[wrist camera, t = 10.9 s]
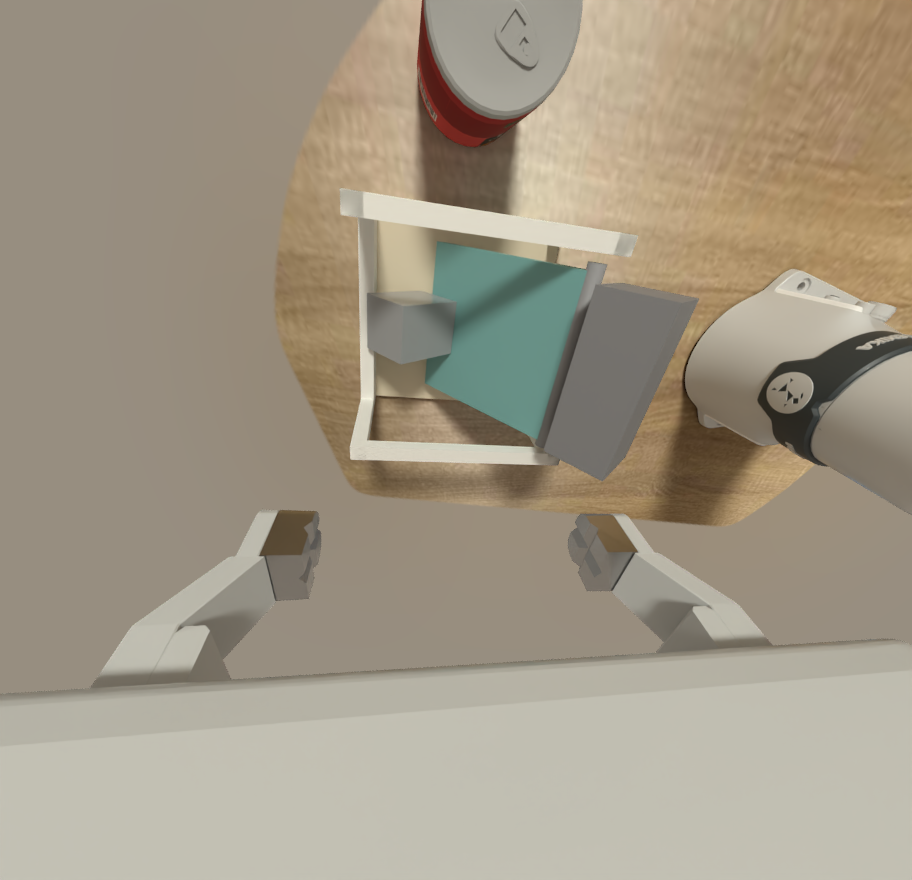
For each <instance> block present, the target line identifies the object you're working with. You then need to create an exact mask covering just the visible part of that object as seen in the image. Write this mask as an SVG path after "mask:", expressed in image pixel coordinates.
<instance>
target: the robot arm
mask: <svg viewBox="0 0 912 880" xmlns="http://www.w3.org/2000/svg"><path fill="white" fill-rule="evenodd" d="M896 309H897V308H895V307H893V306H890V305H886V304H883V303H878V302H873V301H868V303H867V302H864V301H862V300H860V299H858V298H856V297H854V296H852V295H850V294H848V293H846V292H844V291H842V290H840V289H838V288H836V287H834V286H832V285H830V284H828V283H826V282H824V281H822V280H820V279H818V278H816V277H814V276H812V275H810V274H808V273H806V272H803V271H800V270H797V269H790V270H788V271H786V272H784V273H783V274H782V275H780V276H779V277H778V278H777V279H775V280H774V281H773V282H772V283H771V284H770V285H769V286H768V287H766V288H765V289H764V290H763V291H761V292H760V293H758V294H756V295H754V296H752V297H750V298H748V299H746V300H744V301H742V302H740V303H738V304H737V305H735V306H734V307H732V308H731V309H729V310H728V311H727V312H725V313H724V314H723V315H722V316H721V317H719V318H718V319H717V320H716V321H715V322H714V323H713V324H712V325H711V326H710V327H709V328H708V330H707V331H706V332H705V333H704V335H703V336H702V337H701V339H700V340H699V342H698V343H697V345H696V347H695V348H694V350H693V352H692V354H691V356H690V359H689V362H688V365H687V368H686V374H685V387H686V391H687V394H688V396H689V398H690V399H691V401H692V402H693V403H694V404H695V405H696V407H697V409H698V419H699V423H700V424H701V425H703V426H705V427H707V428H716V427H724V426H725V427H727V428H728V429H730V430H732V431H734V432H735V433H737V434H739V435H741V436H743V437H745V438H746V439H748V440H750V441H752V442H754V443H755V444H758V445H761V446H766V445H776V444H781V445H783V446H785V447H786V448H788V449H789V450H790V451H791V452H793V453H794V454H796V455H798V456H799V457H802V458H803V459H807V460H809V461H811V462H813V463H815V464H817V465H821V466H829V467H831V468H832V469H834V470H836V471H837V472H839V473H841V474H843V475H844V476H846V477H848V478H849V479H851V480H853V481H854V482H856V483H858V484H859V485H861V486H863V487H864V488H866V489H868V490H870V491H871V492H873V493H875V494H876V495H878V496H880V497H881V498H883V499H885V500H887V501H888V502H890V503H892V504H893V505H895V506H896V507H898V508H900V509H902V510H903V511H905V512H907V513H909V514H911V515H912V335H905V334H901V333H900V332H898V331H897V330H895V329H893V328H892V327H890V326H888V325H886V324H885V323H884V322H886V321H887V319H889V318H890V317H891V316H892V315H893V314H894V313H895V311H896ZM575 523H576V525H577V528H576V529H574V530H573V531H572V532H571V533H570V536H569V539H568V549H569V553H570V556H571V558H572V561H573V562H575V563H576V564H577V565H578V566H580V568H579V572H578V573H579V575H580V577H581V579H582V582H583V583H584V585H585V588H586V590H587V591H612V593H613V594H614V595H615V596H616V597H617V598H618V599H619V600H620V601H621V602H622V603H623V604H625V605H626V606H627V607H628V608H629V609H630V610H631V611H632V612H633V613H634V614H635V615H636V616H637V617H638V618H639V619H640V620H641V621H642V622H643V623H644V624H646V625H647V626H648V627H649V628H650V629H651V630H652V631H653V632H654V633H655V634H656V635H657V636H658V637H659V638H660V639H661V640H662V641H663V642H664V643H663V644H662V645H661V647H660V648H659V649H658V650H657V651H656V653H649V654H648V653H647V654H632V655H615V656H600V657H583V658H567V659H551V660H535V661H518V662H503V663H489V664H488V663H487V664H471V665H456V666H440V667H424V668H410V669H409V668H408V669H393V670H377V671H361V672H345V673H329V674H313V675H298V676H282V677H266V678H251V679H250V678H249V679H233V680H231V678H230V675H229V673H228V671H227V669H226V666H225V664H224V662H223V659H224V658H225V657H226V656H227V655H228V654H229V653H230V652H231V650H232V649H233V648H234V647H235V646H236V645H237V644H238V643H239V642H240V640H242V638H243V637H244V636H245V635H246V634H247V633H248V632H249V631H250V630H251V629H252V628H253V627H254V625H256V623H257V622H258V621H259V620H260V619H261V618H262V617H263V616H264V615H265V614H266V613H267V612H268V610H269V609H270V608H271V607H272V606H273V605H274V604H275V603H276V602H275V601H281V600H299V599H309V595H310V592H311V588H312V584H313V580H314V572H313V568H314V567H315V566H316V565H317V564H318V561H319V557H320V550H321V532H320V531H319V530H318V529H317V528H318V524H319V516H318V512H317V511H291V510H280V511H279V510H261V511H260V512H259V513H258V514H257V515H256V517H255V519H254V521H253V523H252V525H251V527H250V529H249V531H248V533H247V535H246V537H245V539H244V541H243V543H242V545H241V547H240V549H239V551H238V552H237V554H236V556H235V557H228V558H227V559H226V560H224V561H223V562H221V563H220V564H219V565H218V566H216V567H214V568H213V569H212V570H210V571H209V572H207V573H206V574H204V575H203V576H202V577H200V578H199V579H198V580H196V581H195V582H193V583H192V584H190V585H189V586H188V587H186V588H185V589H184V590H182V591H181V592H179V593H178V594H176V595H175V596H174V597H172V598H171V599H170V600H168V601H167V602H165V603H164V604H162V605H161V606H160V607H158V608H157V609H155V610H154V611H153V612H151V613H150V614H148V615H147V616H146V617H144V618H143V619H141V620H140V621H138V622H137V623H136V624H134V625H133V626H132V627H131V628H130V630H129V631H128V633H127V634H126V636H125V637H124V639H123V640H122V641H121V643H120V644H119V646H118V648H117V649H116V650H115V652H114V653H113V655H112V656H111V658H110V659H109V661H108V662H107V664H106V665H105V667H104V668H103V670H102V671H101V673H100V674H99V676H98V677H97V679H96V680H95V681H94V683H93V685H92V686H91V688H88V689H71V690H55V691H38V692H24V693H7V694H0V880H912V645H911V644H909V643H907V642H903V641H901V640H895V639H869V640H855V641H838V642H824V643H823V642H822V643H806V644H790V645H775V646H773V645H772V644H771V643H770V642H769V640H768V639H767V638H766V637H765V636H764V635H763V633H762V632H761V631H760V630H759V629H758V627H757V626H756V625H755V624H754V623H753V622H752V620H751V619H750V618H749V617H748V616H747V614H746V613H745V612H744V611H743V610H742V609H741V607H740V606H739V605H738V604H737V603H736V602H734V601H732V600H731V599H729V598H728V597H726V596H725V595H723V594H722V593H720V592H719V591H717V590H715V589H714V588H712V587H711V586H709V585H708V584H706V583H705V582H703V581H702V580H700V579H698V578H697V577H696V576H694V575H692V574H691V573H689V572H688V571H686V570H685V569H683V568H682V567H680V566H678V565H677V564H676V563H674V562H672V561H671V560H669V559H668V558H666V557H665V556H663V555H661V554H660V553H654V551H653V550H652V548H651V547H650V546H649V545H648V543H647V542H646V540H645V539H644V538H643V536H642V535H641V533H640V532H639V531H638V529H637V528H636V527H635V525H634V524H633V523H632V521H631V520H630V518H629V517H628V516H627V515H625V514H580V515H579V516H578V517H577V519H576V522H575Z"/></svg>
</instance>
